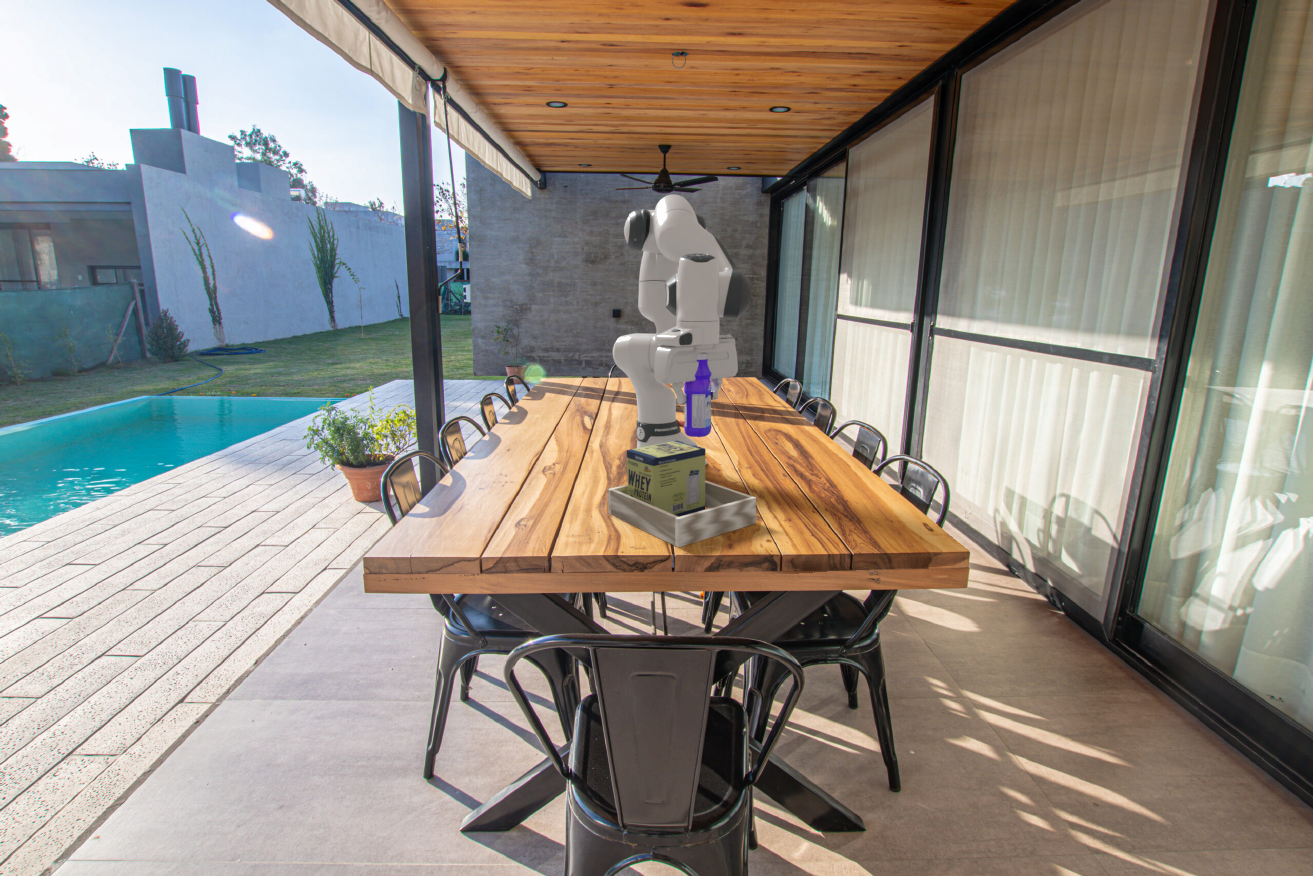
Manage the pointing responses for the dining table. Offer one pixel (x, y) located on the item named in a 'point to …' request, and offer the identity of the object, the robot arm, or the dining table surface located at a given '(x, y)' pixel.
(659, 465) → the protein box
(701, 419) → the bottle
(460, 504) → the dining table surface
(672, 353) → the robot arm
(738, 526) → the crate
